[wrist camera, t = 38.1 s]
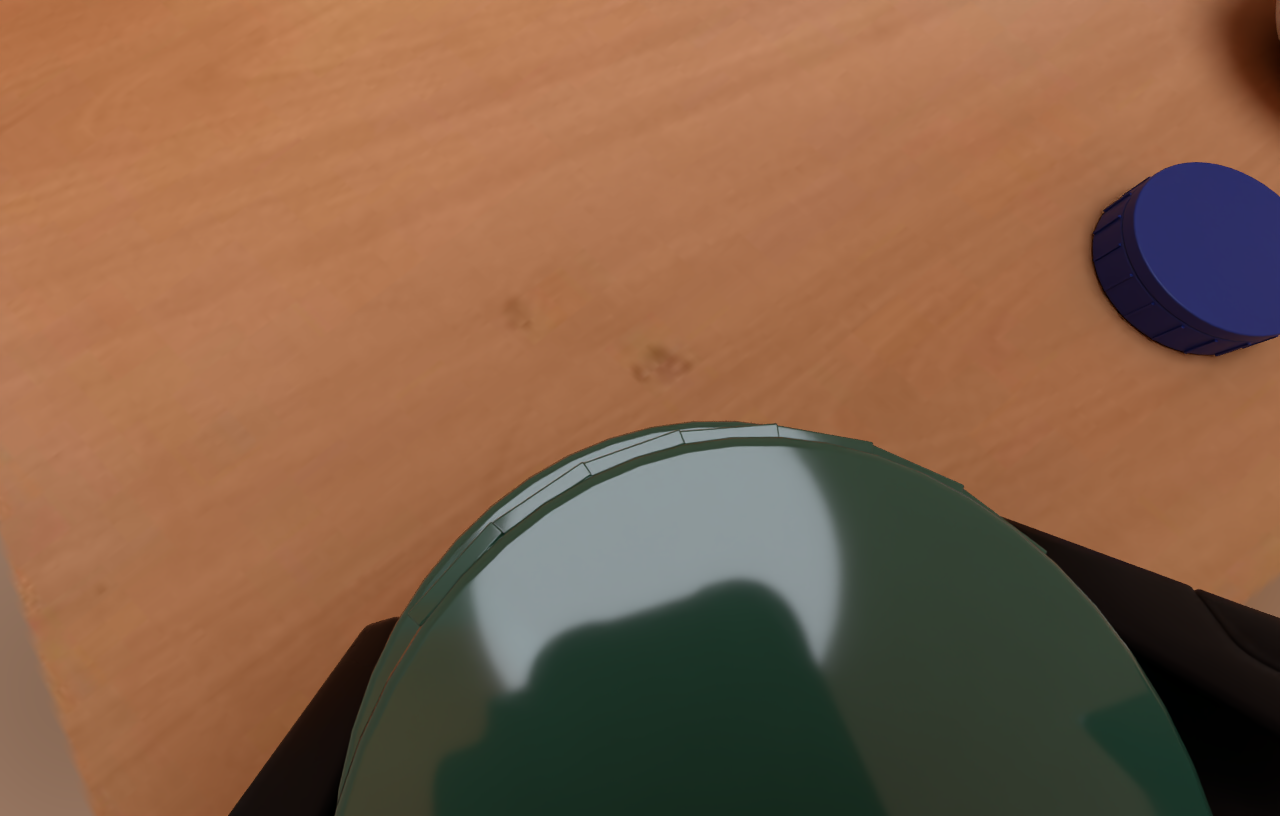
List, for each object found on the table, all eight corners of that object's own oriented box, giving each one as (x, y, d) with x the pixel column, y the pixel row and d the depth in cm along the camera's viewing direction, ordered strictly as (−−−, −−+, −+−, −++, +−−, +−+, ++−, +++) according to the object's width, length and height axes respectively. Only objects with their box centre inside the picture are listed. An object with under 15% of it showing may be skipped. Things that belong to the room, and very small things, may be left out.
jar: (830, 633, 14) (1484, 791, 4) (668, 877, 12) (1015, 2442, 2) (631, 467, 15) (701, 210, 5) (455, 674, 13) (-80, 1022, 3)
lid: (1287, 364, 21) (1349, 345, 19) (1106, 348, 21) (1153, 327, 19) (1243, 201, 23) (1296, 171, 21) (1076, 182, 23) (1116, 150, 21)
